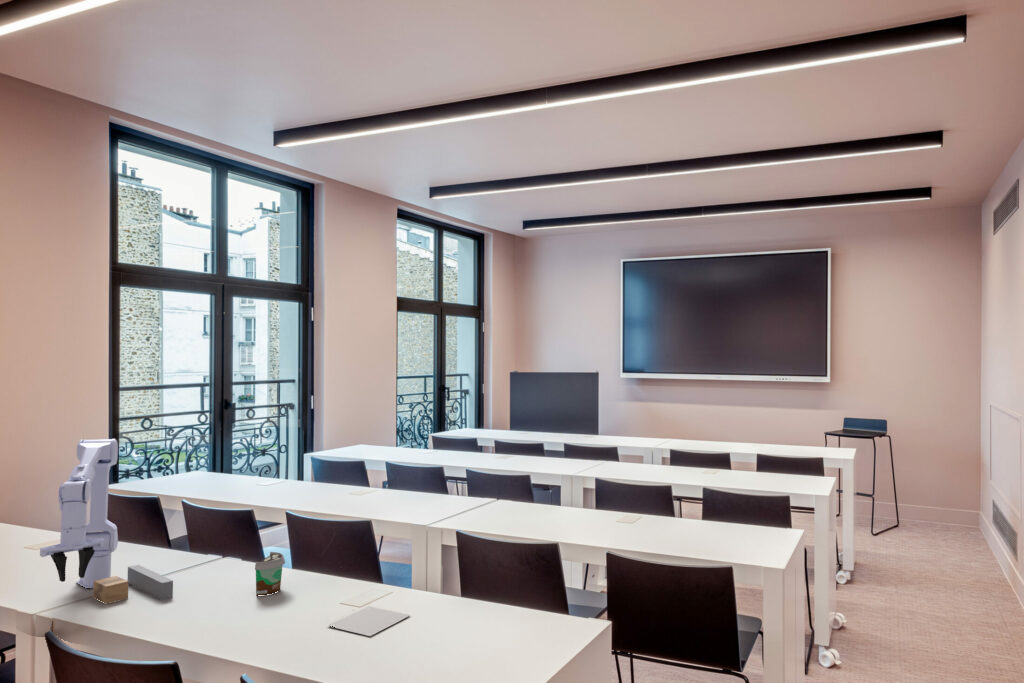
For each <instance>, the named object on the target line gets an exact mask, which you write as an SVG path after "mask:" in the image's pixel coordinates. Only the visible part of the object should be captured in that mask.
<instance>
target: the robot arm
mask: <svg viewBox="0 0 1024 683" xmlns="http://www.w3.org/2000/svg"><path fill="white" fill-rule="evenodd" d="M118 451H119V442H118V441H117V439H116V438H104V439H103V438H102V439H84V438H83V439H82V438H81V439H79V441H78V443H77V445H76V457H77V460H79V464H78V465H75V466H74V467H73V468H72V470H71V471H70V474H69V476H68V478H67V480H66V481H64V483H61V484H60V486H59V488H58V502H59V511H60V513H61V514H60V515H61V517H60V543H58V544H54V545H50V546H45V547H40V548H39V556H40V557H42V558H44V557H47V556H50V557H51V558H50V559H52V561H53V563H54V565H55V567H56V570H57V573H58V574H57V575H58V578H59V581H60V582H61V583H62V582H66V567H67V559H68V556H66V554H65V553H70V552H71V553H72V552H77V553H78V562H79V563H78V577H79V580H76V581H75V583H76V584H77V583H78V584H77V585H79V584H80V585H79V586H81V587H82V586H83V587H82V588H84V587H85V588H84V589H86V588H90V589H93V582H94V581H95V580H100V579H104V578H109V577H112V573H111V572H112V553H113V552H115V551H116V550H117V548H118V543H119V535H118V527H117V525H116V524H115V523H113V522H111V521H110V520H109V519H108V508H109V505H108V504H109V487H110V486H109V484H110V482H109V481H110V470H111V467H112V466H115V465H117V463H118V459H119V458H118V457H119V456H118V454H119V452H118ZM88 502H90V503H89V504H90V505H89V522H87V519H88V518H87V514H88Z"/></svg>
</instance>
